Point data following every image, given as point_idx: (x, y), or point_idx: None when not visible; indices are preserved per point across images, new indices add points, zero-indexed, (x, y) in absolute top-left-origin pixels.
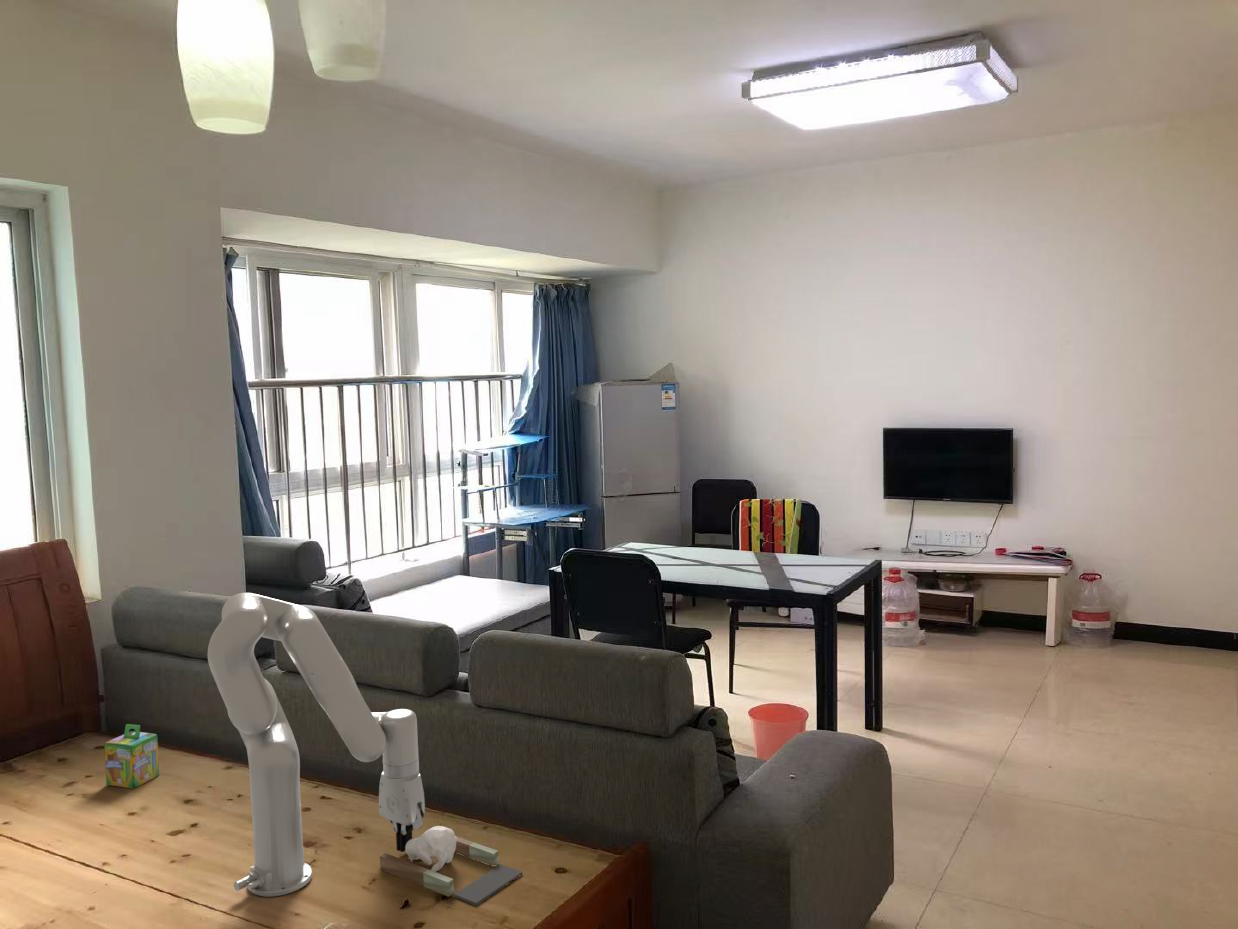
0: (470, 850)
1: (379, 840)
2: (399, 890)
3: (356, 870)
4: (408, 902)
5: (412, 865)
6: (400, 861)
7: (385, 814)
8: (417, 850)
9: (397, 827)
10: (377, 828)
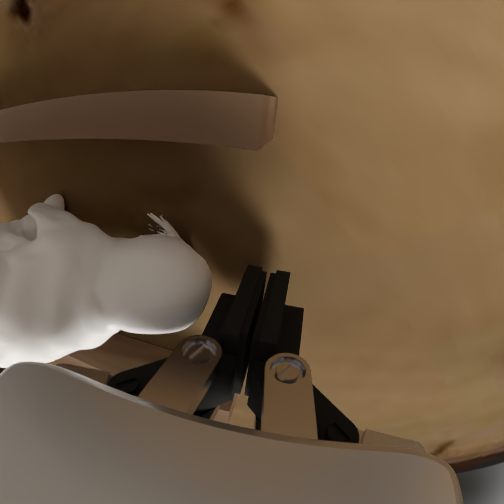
0: None
1: (449, 334)
2: (72, 27)
3: (403, 45)
4: (19, 15)
5: (27, 125)
6: (88, 115)
7: (357, 494)
8: (60, 233)
9: (264, 387)
10: (478, 383)
